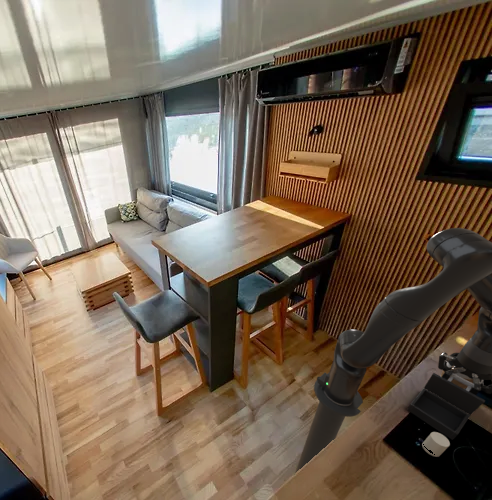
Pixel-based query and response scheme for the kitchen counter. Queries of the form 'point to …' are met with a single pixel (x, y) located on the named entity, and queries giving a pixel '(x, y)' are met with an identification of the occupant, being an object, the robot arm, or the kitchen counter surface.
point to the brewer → (438, 413)
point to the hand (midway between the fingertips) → (457, 386)
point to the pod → (436, 444)
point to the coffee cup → (450, 364)
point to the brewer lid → (454, 392)
